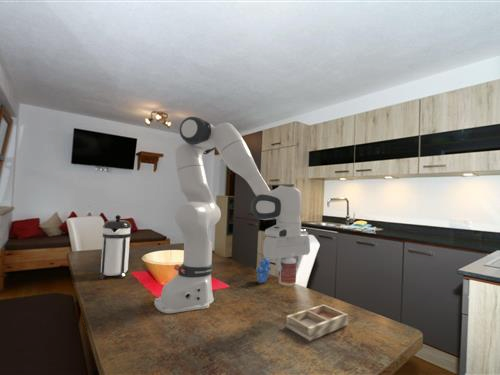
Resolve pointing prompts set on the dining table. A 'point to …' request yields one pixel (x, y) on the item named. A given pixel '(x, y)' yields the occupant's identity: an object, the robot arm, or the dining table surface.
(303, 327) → the tray
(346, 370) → the dining table surface
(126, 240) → the coffee press
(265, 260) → the grapes
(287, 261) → the pill bottle
